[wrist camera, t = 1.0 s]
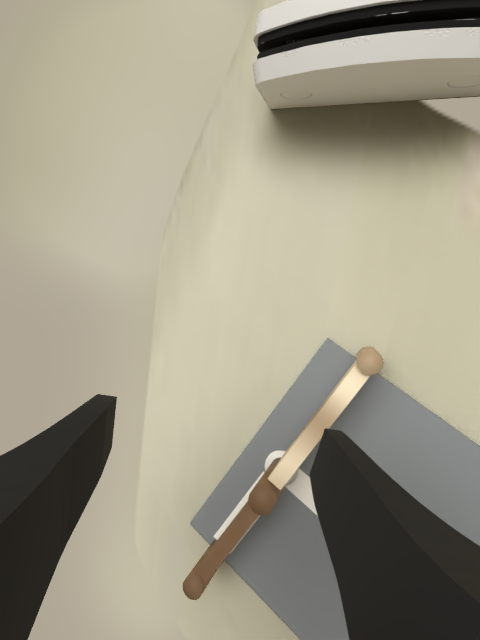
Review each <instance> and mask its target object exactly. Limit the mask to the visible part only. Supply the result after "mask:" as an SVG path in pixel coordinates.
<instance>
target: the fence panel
mask: <svg viewBox="0 0 480 640" xmlns="http://www.w3.org/2000/svg"><path fill="white" fill-rule="evenodd" d="M382 367H383V359H382V357H381V355H380V354H379V353H378V352H377V351H376V350H375V349H374V348H372V347H363V348H362V349H360V350H359V352H358V355H357V359H356V361H355V362H354V363H353V365H352V366H351V367H350V368H349V370H348V371H347V372H346V374H345V375H344V376H343V378H342V379H341V380H340V381H339V383H338V384H337V385H336V387H335V388H334V389H333V391H332V392H331V393H330V394H329V396H328V397H327V398H326V400H325V401H324V402H323V404H322V405H321V406H320V407H319V409H318V410H317V411H316V413H315V414H314V415H313V417H312V418H311V419H310V420H309V422H308V423H307V424H306V426H305V427H304V428H303V430H302V431H301V432H300V433H299V435H298V436H297V437H296V439H295V440H294V441H293V443H292V444H291V445H290V446H289V448H288V449H287V450H286V452H285V453H284V454H283V456H282V457H281V459H280V460H279V462H278V463H277V465H276V466H275V468H274V470H273V471H272V473H271V474H270V476H269V477H268V480H269V481H271V482H272V483H273V484H274V485H275V486H276V487H277V488H278V489H279V490H281V489H282V488H283V487H284V485H285V484H286V483H287V481H288V480H289V479H290V478H291V476H292V475H293V474H294V473H295V471H296V470H297V469H298V467H299V466H300V465H301V464H302V462H303V461H304V460H305V459H306V457H307V456H308V455H309V453H310V452H311V451H312V450H313V448H314V447H315V446H316V445H317V443H318V442H319V441H320V439H321V438H322V435H323V432H324V429H325V428H326V429H329V428H330V427H331V425H332V424H333V423H334V422H335V420H336V419H337V418H338V417H339V415H340V414H341V413H342V411H343V410H344V409H345V408H346V406H347V405H348V404H349V402H350V401H351V400H352V399H353V397H354V396H355V395H356V394H357V392H358V391H359V390H360V388H361V387H362V386H363V385H364V383H365V382H366V381H367V380H368V378H369V377H370V376H371V375H374V374H377V373H378V372H379V371H380V370H381V369H382Z"/></svg>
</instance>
